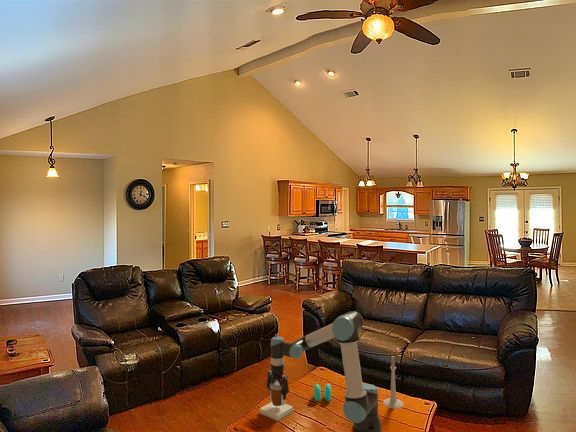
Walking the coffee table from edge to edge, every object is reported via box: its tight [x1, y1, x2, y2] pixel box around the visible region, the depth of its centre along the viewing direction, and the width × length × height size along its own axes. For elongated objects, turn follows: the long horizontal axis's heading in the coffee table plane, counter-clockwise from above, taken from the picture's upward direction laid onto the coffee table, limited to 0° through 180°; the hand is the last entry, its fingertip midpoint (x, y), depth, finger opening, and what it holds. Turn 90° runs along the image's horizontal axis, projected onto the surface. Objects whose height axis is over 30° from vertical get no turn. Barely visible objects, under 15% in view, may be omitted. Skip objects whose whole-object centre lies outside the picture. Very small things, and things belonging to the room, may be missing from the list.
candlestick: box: [382, 355, 404, 410], centre depth 249 cm, size 13×13×30 cm
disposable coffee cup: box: [270, 380, 284, 406], centre depth 240 cm, size 10×10×12 cm
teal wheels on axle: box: [313, 383, 332, 402], centre depth 256 cm, size 10×10×10 cm
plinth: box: [259, 401, 294, 422], centre depth 241 cm, size 14×14×3 cm
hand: (277, 402), depth 240 cm, fingers closed on disposable coffee cup, 8 cm apart
